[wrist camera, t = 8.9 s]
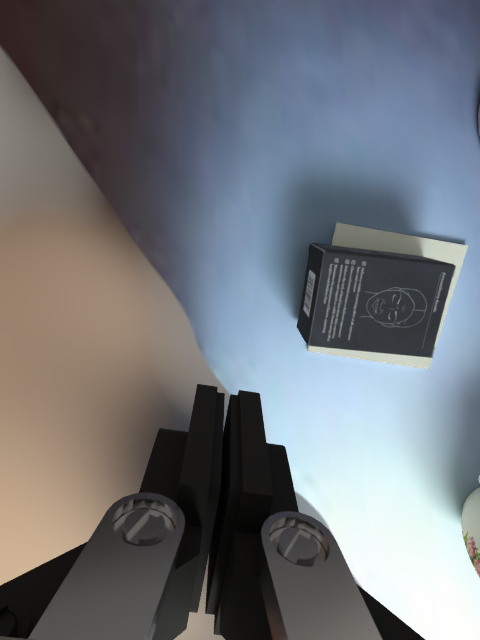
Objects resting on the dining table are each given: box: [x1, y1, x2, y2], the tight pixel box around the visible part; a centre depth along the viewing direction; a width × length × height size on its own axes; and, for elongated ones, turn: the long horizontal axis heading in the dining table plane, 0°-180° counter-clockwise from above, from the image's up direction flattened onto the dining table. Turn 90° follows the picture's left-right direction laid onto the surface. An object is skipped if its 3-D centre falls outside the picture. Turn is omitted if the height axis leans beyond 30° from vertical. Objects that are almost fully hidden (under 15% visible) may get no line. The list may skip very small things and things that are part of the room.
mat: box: [307, 222, 468, 369], centre depth 38 cm, size 12×12×1 cm
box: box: [297, 243, 456, 358], centre depth 35 cm, size 8×6×11 cm
